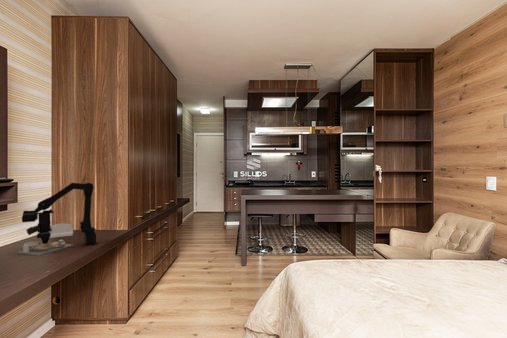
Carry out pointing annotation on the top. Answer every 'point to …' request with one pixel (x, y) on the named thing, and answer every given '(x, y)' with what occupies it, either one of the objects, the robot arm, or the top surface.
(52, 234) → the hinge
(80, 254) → the top surface
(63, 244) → the link
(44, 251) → the pintle base
